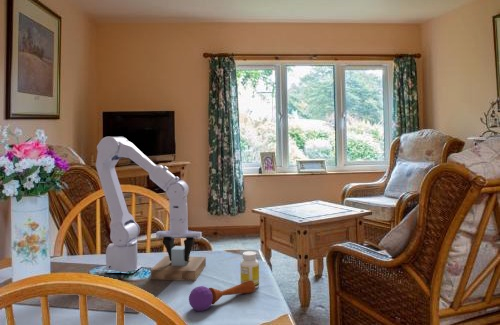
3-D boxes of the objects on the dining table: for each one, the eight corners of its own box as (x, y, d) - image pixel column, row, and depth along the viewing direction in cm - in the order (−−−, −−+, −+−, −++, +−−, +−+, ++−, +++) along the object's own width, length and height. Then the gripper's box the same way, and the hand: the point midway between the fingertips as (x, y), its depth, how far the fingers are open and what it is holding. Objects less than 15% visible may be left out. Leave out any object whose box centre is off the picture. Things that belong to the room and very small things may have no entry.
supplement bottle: (258, 282, 118) (258, 250, 117) (259, 289, 113) (259, 255, 112) (240, 283, 118) (240, 250, 117) (240, 290, 112) (240, 256, 112)
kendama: (259, 281, 109) (199, 295, 95) (256, 301, 109) (195, 318, 96) (246, 272, 113) (186, 284, 100) (242, 291, 114) (183, 305, 101)
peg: (171, 273, 126) (171, 249, 125) (175, 269, 130) (175, 245, 129) (183, 274, 125) (183, 249, 125) (187, 270, 129) (186, 246, 129)
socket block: (151, 279, 122) (150, 269, 121) (165, 264, 135) (165, 255, 135) (195, 280, 120) (195, 270, 120) (205, 265, 134) (205, 256, 134)
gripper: (152, 220, 123) (153, 263, 124) (197, 221, 122) (198, 264, 123) (159, 216, 130) (160, 256, 131) (202, 217, 129) (203, 257, 130)
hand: (179, 260), depth 127 cm, fingers open, 4 cm apart
